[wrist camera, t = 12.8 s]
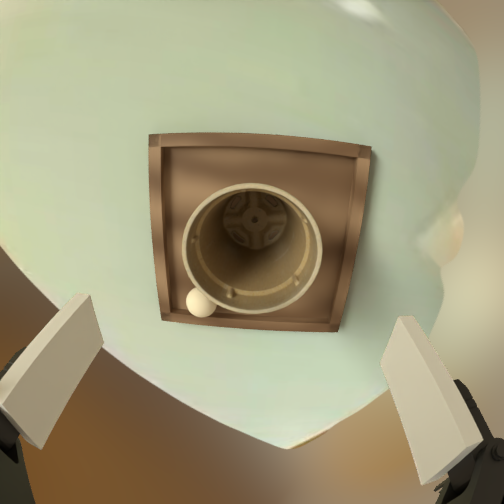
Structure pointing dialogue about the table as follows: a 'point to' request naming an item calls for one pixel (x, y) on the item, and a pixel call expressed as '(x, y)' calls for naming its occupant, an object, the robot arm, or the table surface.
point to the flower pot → (252, 249)
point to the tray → (264, 172)
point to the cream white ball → (199, 304)
